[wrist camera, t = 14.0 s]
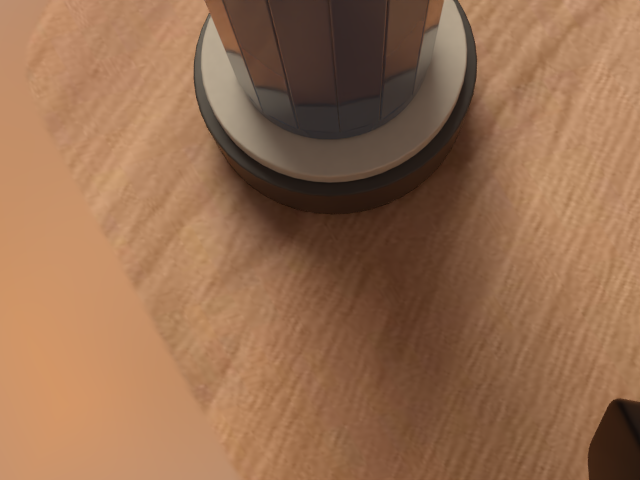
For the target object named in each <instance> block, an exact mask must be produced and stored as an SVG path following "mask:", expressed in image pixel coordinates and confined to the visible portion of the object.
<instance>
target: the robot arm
mask: <svg viewBox="0 0 640 480" xmlns="http://www.w3.org/2000/svg"><path fill="white" fill-rule="evenodd" d="M588 471H589V480H640V402H637V401H631V400H626V399H615V400H613V401H612V402H611V403H610V404H609V406H608V407H607V409H606V411H605V413H604V416H603V418H602V420H601V422H600V424H599V426H598V428H597V430H596V432H595V435H594V437H593V439H592V441H591V443H590V447H589V452H588Z"/></svg>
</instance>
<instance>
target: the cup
mask: <svg viewBox="0 0 640 480" xmlns="http://www.w3.org/2000/svg"><path fill="white" fill-rule="evenodd" d="M205 2H206V5H207V7H208V10H209V12H210V15H211V17H212V20H213V22H214V24H215V27H216V29H217V32H218V34H219V37H220V39H221V42H222V44H223V47H224V49H225V51H226V54H227V56H228V59H229V61H230V64H231V66H232V69H233V71H234V74H235V76H236V78H237V81H238V83H239V85H240V86H241V87H242V89H243V91H244V93H245V94H246V96H247V98H248V99H249V101H250V102H251V103H252V105H253V106H254V107H255V108H256V109H257V110H258V111H259V112H260V113H261V114H262V115H263V116H264V117H265V118H267V119H268V120H269V121H270V122H272V123H273V124H275V125H277V126H279V127H280V128H282V129H284V130H286V131H289V132H291V133H294V134H297V135H300V136H304V137H308V138H315V139H331V140H334V139H344V138H350V137H354V136H359V135H362V134H365V133H367V132H370V131H373V130H375V129H377V128H379V127H381V126H383V125H385V124H386V123H388V122H389V121H390V120H392V119H393V118H395V117H396V116H397V115H398V114H399V113H401V112H402V111H403V110H404V109H405V108H406V107H407V106H408V104H409V103H410V102H411V101H412V100H413V99H414V97H415V96H416V94H417V92H418V91H419V89H420V88H421V85H422V83H423V81H424V79H425V76H426V73H427V70H428V67H429V65H430V63H431V60H432V55H433V50H434V46H435V41H436V36H437V32H438V27H439V22H440V18H441V13H442V8H443V3H444V0H205Z"/></svg>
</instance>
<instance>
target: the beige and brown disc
mask: <svg viewBox="0 0 640 480" xmlns="http://www.w3.org/2000/svg"><path fill="white" fill-rule="evenodd" d="M476 73H477V55H476V46H475V41H474V37H473V33H472V29H471V26H470V24H469V21H468V19H467V17H466V14H465V12H464V10H463V8H462V7H461V5H460V3H459V2H458V0H444V3H443V8H442V13H441V18H440V22H439V27H438V32H437V36H436V41H435V46H434V50H433V55H432V60H431V63H430V65H429V67H428V70H427V73H426V76H425V79H424V81H423V83H422V85H421V88H420V89H419V91H418V92H417V94H416V96H415V97H414V99H413V100H412V101H411V102H410V103H409V104H408V106H407V107H406V108H405V109H404V110H403V111H402V112H401V113H399V114H398V115H397V116H396V117H395V118H393V119H392V120H390V121H389V122H388V123H386V124H385V125H383V126H381V127H379V128H377V129H375V130H373V131H370V132H367V133H365V134H362V135H359V136H354V137H350V138H344V139H334V140H331V139H315V138H308V137H304V136H300V135H297V134H294V133H291V132H289V131H286V130H284V129H282V128H280V127H279V126H277V125H275V124H273V123H272V122H270V121H269V120H268V119H267V118H265V117H264V116H263V115H262V114H261V113H260V112H259V111H258V110H257V109H256V108H255V107H254V106H253V105H252V103H251V102H250V101H249V99H248V98H247V96H246V94H245V93H244V91H243V89H242V87H241V86H240V85H239V83H238V81H237V78H236V76H235V74H234V71H233V69H232V66H231V64H230V61H229V59H228V56H227V54H226V51H225V49H224V47H223V44H222V42H221V39H220V37H219V34H218V32H217V29H216V27H215V24H214V22H213V20H212V17H211V15H210V13H209V14H208V17H207V19H206V21H205V23H204V25H203V28H202V30H201V33H200V36H199V40H198V43H197V46H196V53H195V59H194V86H195V93H196V98H197V102H198V105H199V109H200V112H201V115H202V117H203V119H204V121H205V124H206V126H207V128H208V130H209V131H210V133H211V135H212V136H213V138H214V140H215V141H216V143H217V145H218V146H219V148H220V150H221V151H222V153H223V154H224V156H225V158H226V159H227V161H228V162H229V164H230V165H231V166H232V167H233V168H234V170H235V171H236V172H237V173H238V174H239V176H240V177H242V178H243V179H244V180H245V181H246V182H247V183H248V184H249V185H251V186H252V187H253V188H255V189H256V190H258V191H259V192H261V193H262V194H263V195H265V196H267V197H269V198H271V199H273V200H275V201H277V202H279V203H281V204H284V205H287V206H289V207H292V208H295V209H299V210H304V211H309V212H314V213H326V214H342V213H353V212H359V211H364V210H369V209H372V208H375V207H378V206H382V205H385V204H387V203H389V202H391V201H393V200H396V199H398V198H400V197H402V196H403V195H405V194H407V193H408V192H410V191H411V190H413V189H415V188H416V187H417V186H419V185H420V184H421V183H422V182H423V181H425V180H426V179H427V178H428V177H429V176H430V175H431V174H432V173H433V172H434V171H435V170H436V169H437V168H438V167H439V166H440V164H441V163H442V162H443V160H444V159H445V157H446V156H447V155H448V153H449V152H450V150H451V148H452V146H453V144H454V142H455V140H456V139H457V137H458V134H459V132H460V129H461V126H462V124H463V121H464V119H465V116H466V113H467V111H468V108H469V105H470V102H471V99H472V96H473V93H474V87H475V82H476Z"/></svg>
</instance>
